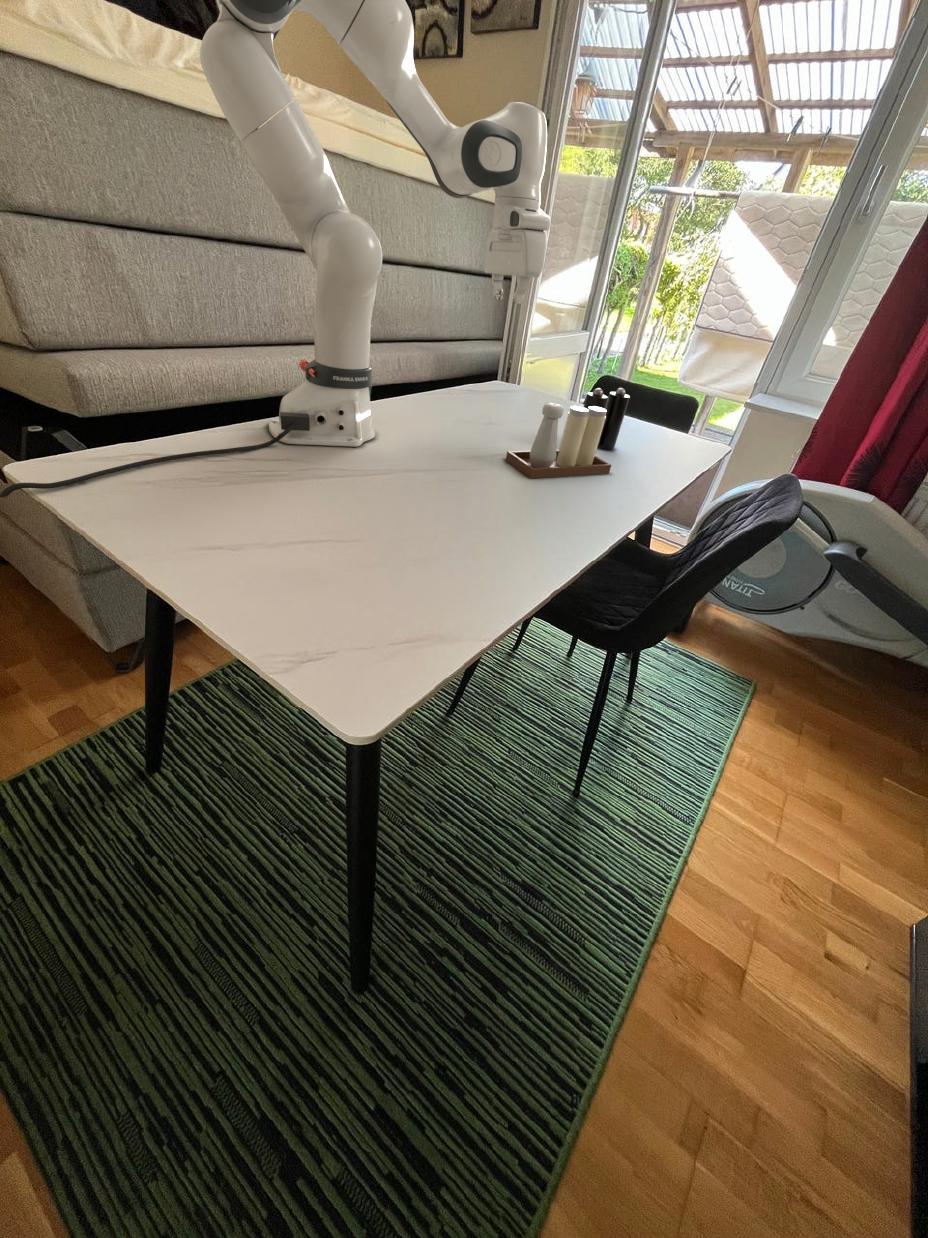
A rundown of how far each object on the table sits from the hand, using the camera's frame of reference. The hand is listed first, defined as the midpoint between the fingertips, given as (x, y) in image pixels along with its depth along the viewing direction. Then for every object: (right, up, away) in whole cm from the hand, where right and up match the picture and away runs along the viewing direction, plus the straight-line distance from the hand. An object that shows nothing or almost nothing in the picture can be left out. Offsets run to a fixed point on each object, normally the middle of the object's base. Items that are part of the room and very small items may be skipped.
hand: (507, 301), depth 109 cm
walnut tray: (+12, -33, +7) cm, 36 cm away
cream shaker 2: (+18, -32, +10) cm, 38 cm away
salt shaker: (+8, -33, +5) cm, 35 cm away
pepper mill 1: (+21, -24, +21) cm, 38 cm away
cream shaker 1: (+14, -33, +8) cm, 36 cm away
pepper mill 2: (+27, -23, +25) cm, 43 cm away
